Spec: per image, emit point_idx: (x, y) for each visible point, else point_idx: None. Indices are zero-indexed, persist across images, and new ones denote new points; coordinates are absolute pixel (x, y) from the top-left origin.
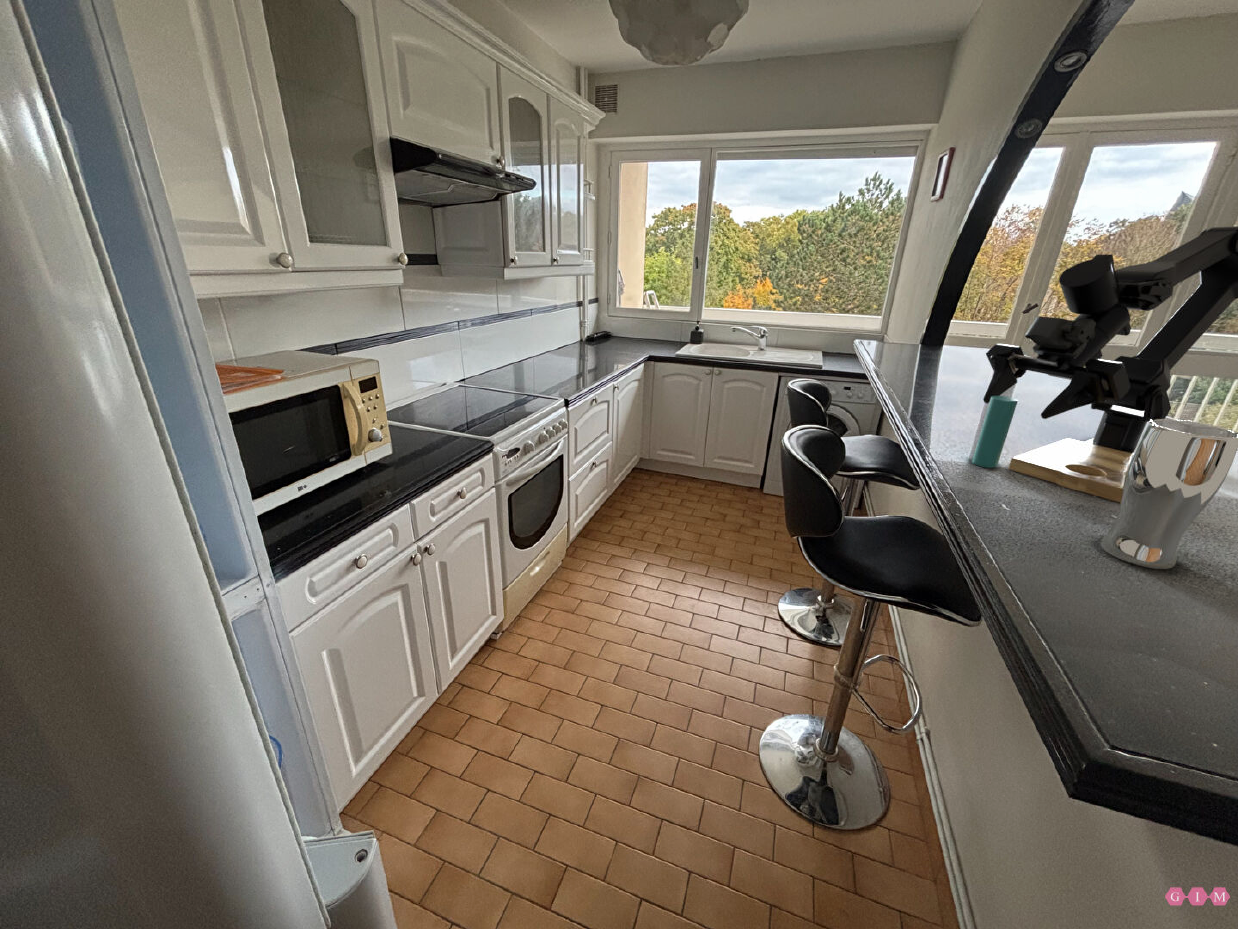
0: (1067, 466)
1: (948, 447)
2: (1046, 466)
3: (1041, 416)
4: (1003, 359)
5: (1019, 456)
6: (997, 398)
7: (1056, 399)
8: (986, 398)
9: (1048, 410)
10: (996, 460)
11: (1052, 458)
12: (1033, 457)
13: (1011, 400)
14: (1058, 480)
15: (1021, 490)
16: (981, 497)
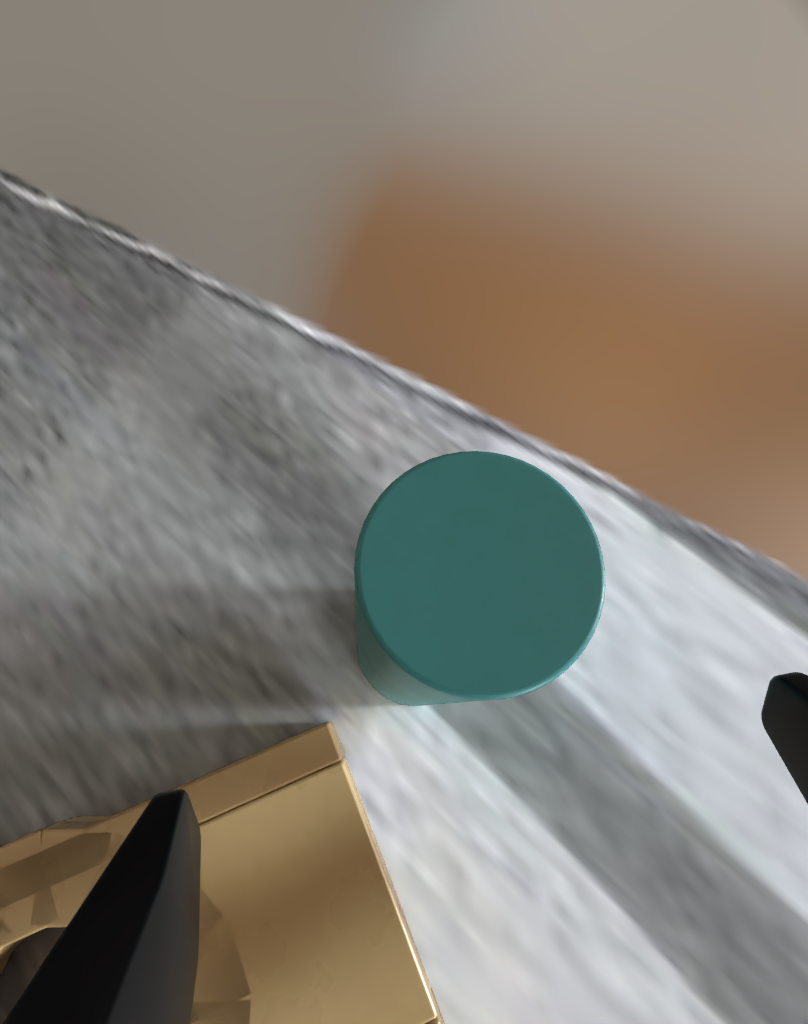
0: None
1: (679, 650)
2: None
3: (189, 805)
4: None
5: (337, 791)
6: (484, 485)
7: (86, 994)
8: (784, 688)
9: (126, 843)
10: (357, 650)
11: (274, 1013)
12: (310, 879)
13: (386, 565)
14: (87, 819)
15: (85, 551)
16: (71, 322)
